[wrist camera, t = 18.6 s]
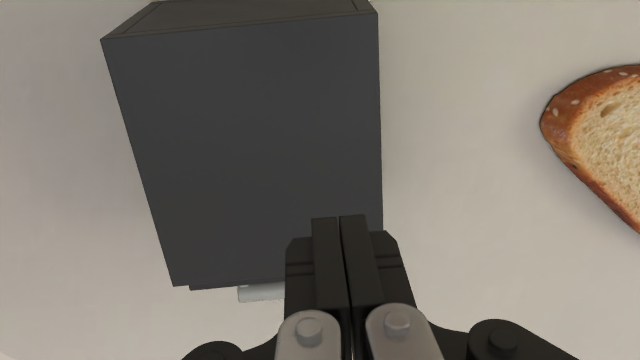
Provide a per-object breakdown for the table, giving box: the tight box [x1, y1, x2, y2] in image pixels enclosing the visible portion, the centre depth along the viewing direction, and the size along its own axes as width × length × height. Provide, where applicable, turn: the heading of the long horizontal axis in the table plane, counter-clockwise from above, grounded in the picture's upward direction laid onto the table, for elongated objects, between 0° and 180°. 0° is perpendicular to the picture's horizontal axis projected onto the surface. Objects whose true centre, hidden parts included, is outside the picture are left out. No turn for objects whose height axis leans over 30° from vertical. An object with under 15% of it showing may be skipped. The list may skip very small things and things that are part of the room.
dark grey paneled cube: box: [100, 0, 383, 287], centre depth 30 cm, size 15×13×10 cm
